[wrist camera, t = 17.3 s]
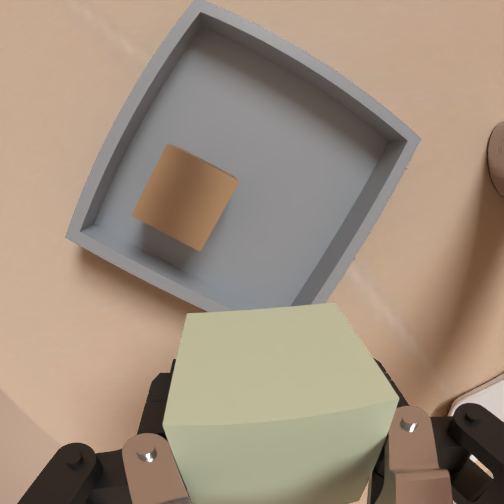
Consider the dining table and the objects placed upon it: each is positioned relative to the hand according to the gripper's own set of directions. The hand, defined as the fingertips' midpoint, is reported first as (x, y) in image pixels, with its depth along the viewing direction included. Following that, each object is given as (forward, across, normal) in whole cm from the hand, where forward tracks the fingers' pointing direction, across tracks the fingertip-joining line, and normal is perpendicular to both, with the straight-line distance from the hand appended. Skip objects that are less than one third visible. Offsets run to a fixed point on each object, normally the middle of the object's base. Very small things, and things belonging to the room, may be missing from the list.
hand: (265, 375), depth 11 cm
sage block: (0, 0, 0) cm, 0 cm away
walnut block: (+15, +4, -5) cm, 17 cm away
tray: (+16, 0, -6) cm, 18 cm away
